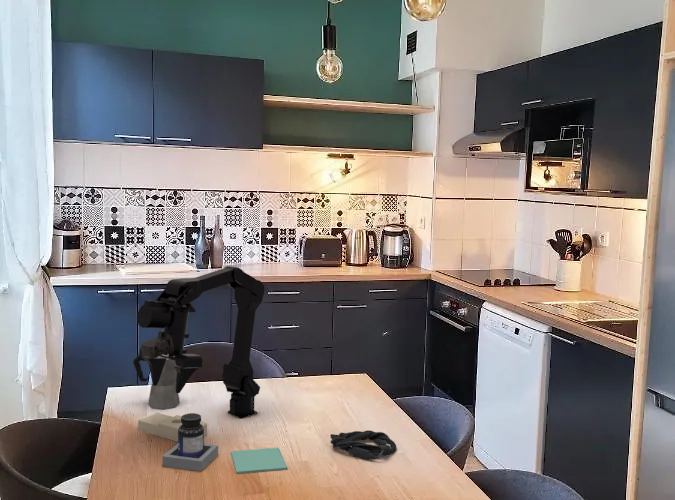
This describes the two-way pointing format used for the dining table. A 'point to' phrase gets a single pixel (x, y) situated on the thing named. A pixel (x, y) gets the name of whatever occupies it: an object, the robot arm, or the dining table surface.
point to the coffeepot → (161, 385)
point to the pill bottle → (191, 436)
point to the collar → (189, 463)
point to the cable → (361, 449)
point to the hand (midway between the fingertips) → (166, 389)
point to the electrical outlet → (164, 426)
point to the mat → (258, 460)
